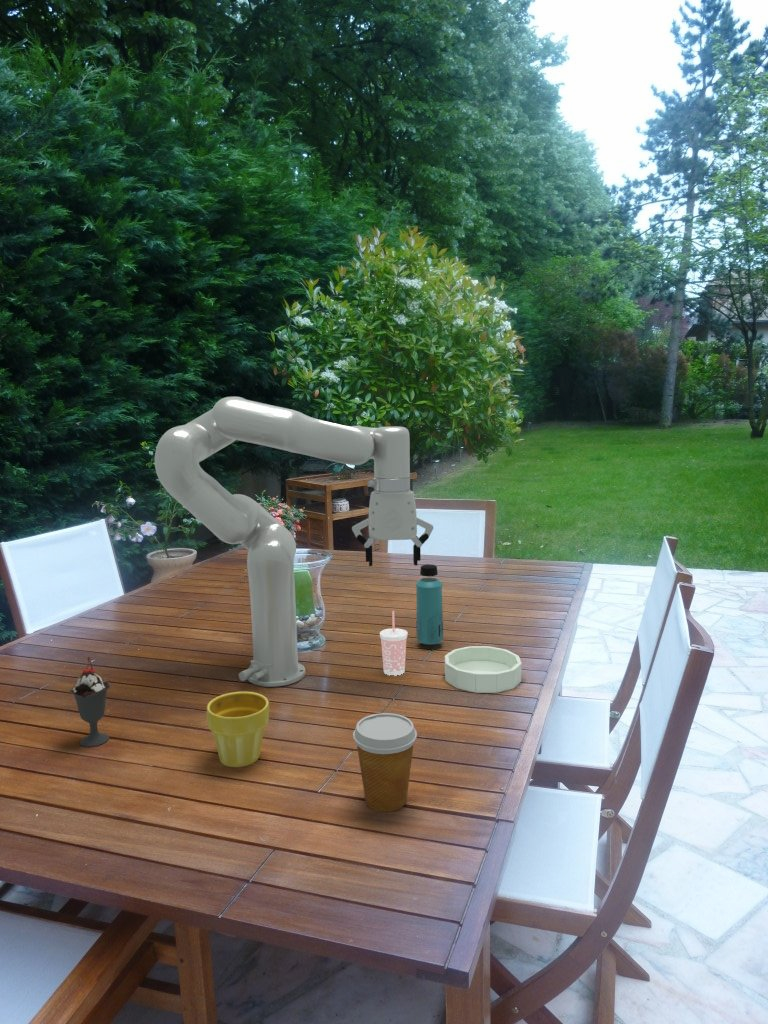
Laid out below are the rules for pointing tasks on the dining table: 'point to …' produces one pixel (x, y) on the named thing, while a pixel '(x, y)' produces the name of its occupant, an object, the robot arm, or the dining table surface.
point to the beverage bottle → (429, 607)
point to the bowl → (483, 669)
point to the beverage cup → (393, 649)
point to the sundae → (91, 704)
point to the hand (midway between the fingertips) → (393, 564)
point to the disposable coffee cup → (385, 759)
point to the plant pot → (238, 726)
